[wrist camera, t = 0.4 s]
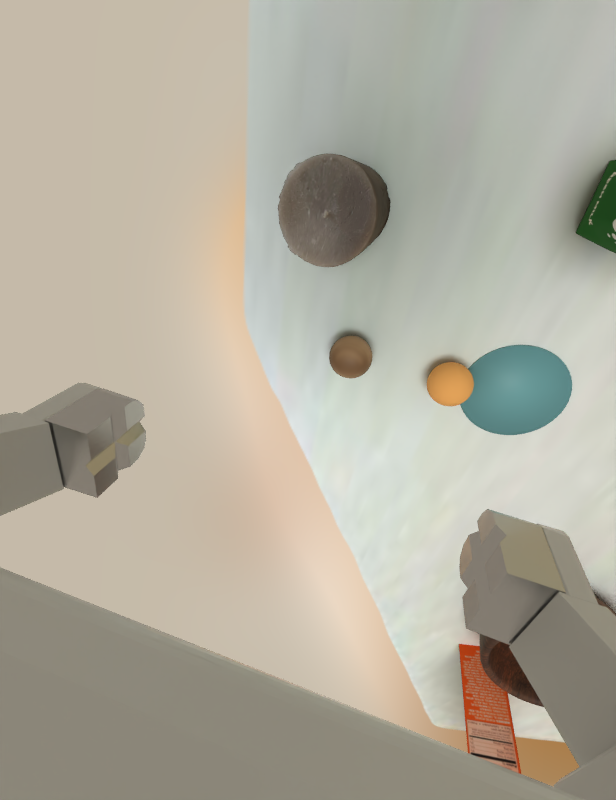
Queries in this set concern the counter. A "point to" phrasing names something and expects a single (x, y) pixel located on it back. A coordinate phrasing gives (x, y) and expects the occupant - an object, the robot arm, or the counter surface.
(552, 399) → the teal mark
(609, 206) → the milk carton
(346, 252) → the pillar candle
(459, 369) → the orange ball
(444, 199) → the counter surface
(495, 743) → the cereal box
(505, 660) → the wooden bowl
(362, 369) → the walnut ball
